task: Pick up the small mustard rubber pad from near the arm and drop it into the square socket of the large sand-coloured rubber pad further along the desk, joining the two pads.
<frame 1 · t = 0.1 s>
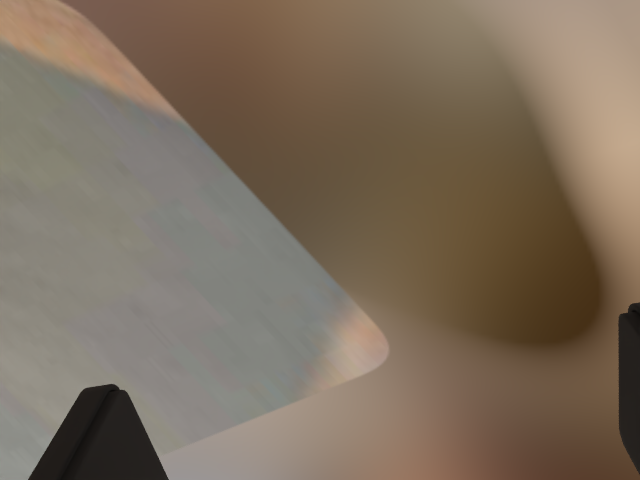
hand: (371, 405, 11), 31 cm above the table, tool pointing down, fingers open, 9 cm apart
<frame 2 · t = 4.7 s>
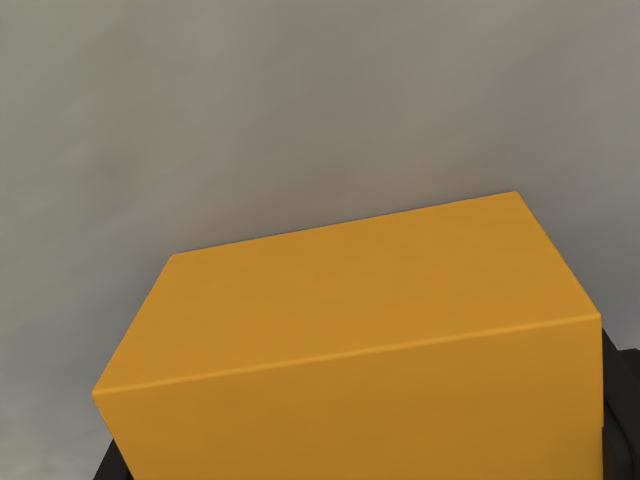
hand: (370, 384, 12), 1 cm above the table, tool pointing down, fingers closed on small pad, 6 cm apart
small pad: (369, 362, 12), on the table, touching gripper
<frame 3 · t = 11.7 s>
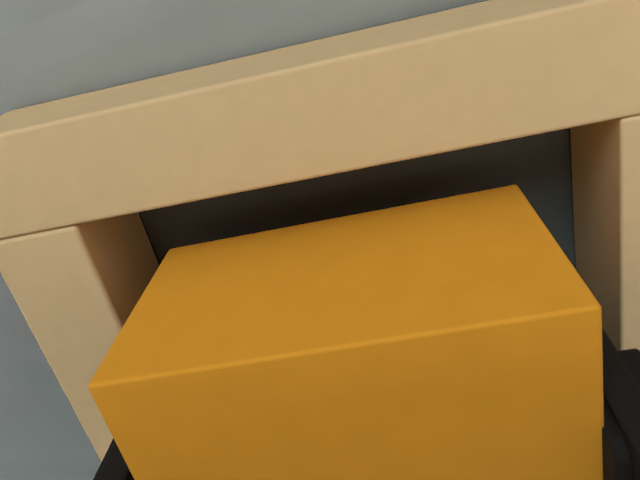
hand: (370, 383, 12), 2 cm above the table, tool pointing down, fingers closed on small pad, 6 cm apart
small pad: (368, 357, 12), point 2 cm above the table, touching gripper
socket pad: (374, 316, 14), on the table
when the fingers open (4 cm above the table, at t = 25.5 s): small pad drops 3 cm, resting in socket pad.
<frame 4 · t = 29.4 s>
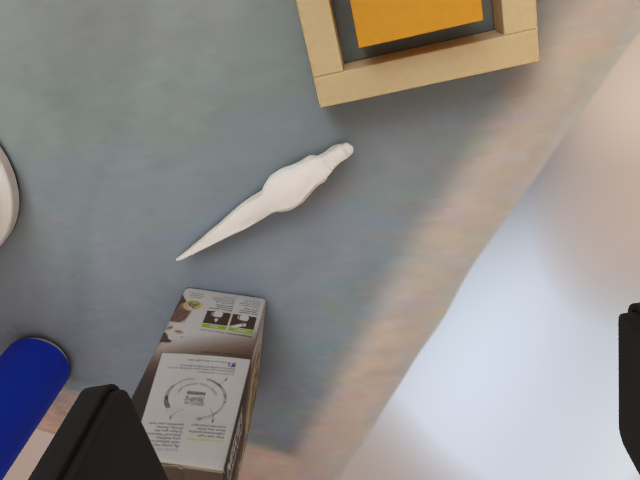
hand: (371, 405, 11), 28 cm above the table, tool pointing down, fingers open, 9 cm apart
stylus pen: (261, 199, 40), on the table
coffee box: (222, 339, 46), on the table
beverage can: (42, 358, 48), on the table
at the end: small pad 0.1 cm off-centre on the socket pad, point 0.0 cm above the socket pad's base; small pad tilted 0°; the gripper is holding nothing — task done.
